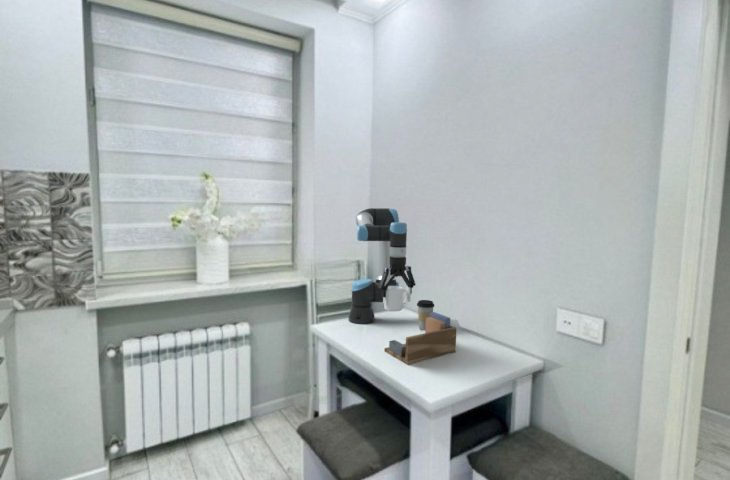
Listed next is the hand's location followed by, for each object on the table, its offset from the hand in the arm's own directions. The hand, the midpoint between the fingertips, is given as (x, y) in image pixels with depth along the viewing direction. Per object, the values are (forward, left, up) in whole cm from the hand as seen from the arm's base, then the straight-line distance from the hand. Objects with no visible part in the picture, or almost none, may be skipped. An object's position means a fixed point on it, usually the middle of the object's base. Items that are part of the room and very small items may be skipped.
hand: (396, 302), depth 180 cm
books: (+9, +17, -20) cm, 28 cm away
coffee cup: (-15, +31, -22) cm, 41 cm away
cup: (0, 0, -3) cm, 3 cm away
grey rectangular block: (+8, -5, -20) cm, 22 cm away
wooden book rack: (+9, +7, -22) cm, 25 cm away
